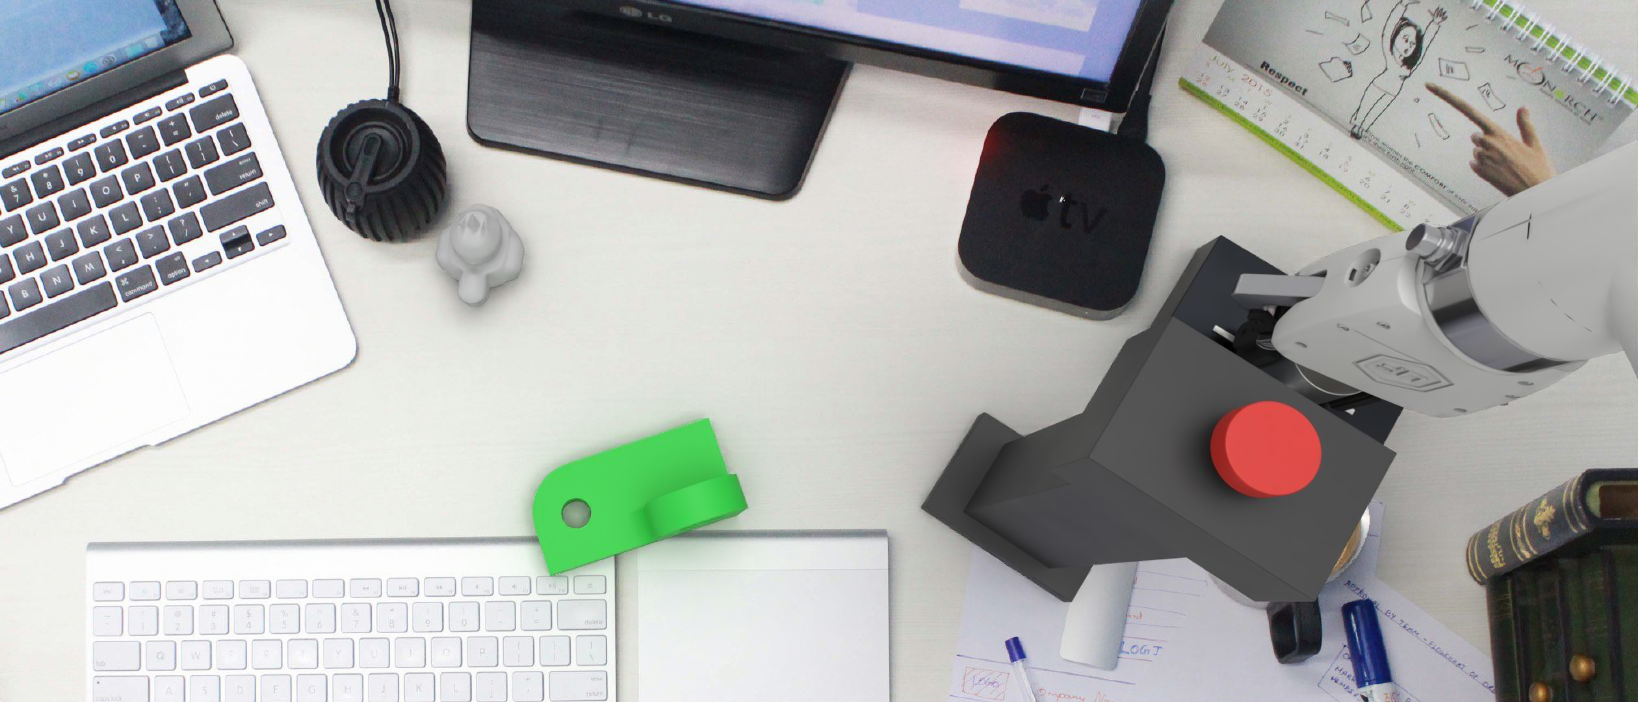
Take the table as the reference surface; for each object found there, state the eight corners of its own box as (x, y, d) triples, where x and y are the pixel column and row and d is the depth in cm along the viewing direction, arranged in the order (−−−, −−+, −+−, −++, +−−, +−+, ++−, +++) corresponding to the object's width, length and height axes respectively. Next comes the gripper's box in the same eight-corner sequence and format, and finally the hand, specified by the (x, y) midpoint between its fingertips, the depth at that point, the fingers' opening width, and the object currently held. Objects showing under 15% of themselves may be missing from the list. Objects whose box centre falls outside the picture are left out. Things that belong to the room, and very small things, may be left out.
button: (1320, 439, 46) (1339, 435, 45) (1276, 516, 46) (1294, 514, 45) (1237, 388, 47) (1253, 382, 46) (1193, 463, 46) (1208, 460, 45)
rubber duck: (533, 224, 77) (524, 181, 69) (517, 322, 76) (506, 290, 68) (450, 213, 77) (432, 169, 70) (433, 311, 76) (413, 277, 68)
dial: (1311, 424, 70) (1373, 408, 65) (1229, 391, 71) (1283, 373, 65) (1335, 348, 71) (1398, 326, 66) (1254, 316, 72) (1309, 291, 66)
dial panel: (1398, 369, 74) (1433, 359, 71) (1316, 516, 72) (1347, 512, 69) (1197, 248, 76) (1222, 233, 73) (1112, 389, 74) (1134, 379, 71)
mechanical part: (706, 422, 74) (717, 400, 66) (738, 514, 73) (753, 503, 65) (522, 482, 74) (511, 467, 66) (551, 576, 72) (544, 572, 65)
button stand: (1121, 505, 73) (1397, 453, 47) (1064, 602, 72) (1315, 602, 46) (978, 414, 74) (1173, 315, 49) (920, 508, 73) (1087, 457, 47)
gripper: (1309, 285, 53) (1132, 365, 70) (1698, 442, 51) (1416, 484, 69) (1359, 138, 54) (1172, 253, 72) (1740, 286, 52) (1452, 367, 70)
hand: (1293, 365), depth 70 cm, fingers closed on dial, 5 cm apart
